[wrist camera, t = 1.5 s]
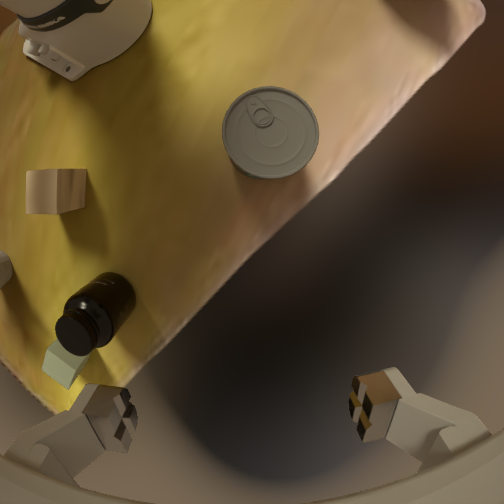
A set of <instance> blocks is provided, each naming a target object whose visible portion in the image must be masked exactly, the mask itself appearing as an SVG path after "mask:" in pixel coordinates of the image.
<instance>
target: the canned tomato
mask: <svg viewBox="0 0 504 504" xmlns="http://www.w3.org/2000/svg"><path fill="white" fill-rule="evenodd" d="M222 138H223V143H224V146H225V149H226V151H227V153H228V155H229V158H230V160H231V162H232V163H233V165H234V166H235V167H236V169H237V170H239V171H240V172H241V173H242V174H244V175H246V176H248V177H251V178H254V179H279V178H283V177H287V176H290V175H292V174H294V173H296V172H298V171H299V170H301V169H302V168H303V167H305V166H306V165H307V163H308V162H309V161H310V160H311V158H312V157H313V155H314V153H315V151H316V148H317V145H318V140H319V128H318V123H317V119H316V116H315V114H314V113H313V111H312V109H311V108H310V106H309V105H308V104H307V103H306V101H304V100H303V99H302V98H301V97H300V96H299V95H297V94H295V93H293V92H292V91H290V90H287V89H284V88H280V87H274V86H265V87H259V88H254V89H252V90H249V91H247V92H245V93H243V94H242V95H241V96H239V97H238V98H237V99H236V100H235V101H234V102H233V103H232V104H231V105H230V107H229V109H228V110H227V112H226V114H225V117H224V120H223V125H222Z"/></svg>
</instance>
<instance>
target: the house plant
mask: <svg viewBox="0 0 504 504" xmlns="http://www.w3.org/2000/svg"><path fill="white" fill-rule="evenodd" d="M11 277H12V264H11V261H10V259H9V257H8V255H7V254H6V253H4V252H2V251H0V288H1V287H2V286H3V285H4V284H5V283H7V282H8V281H9V280H10V278H11Z"/></svg>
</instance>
